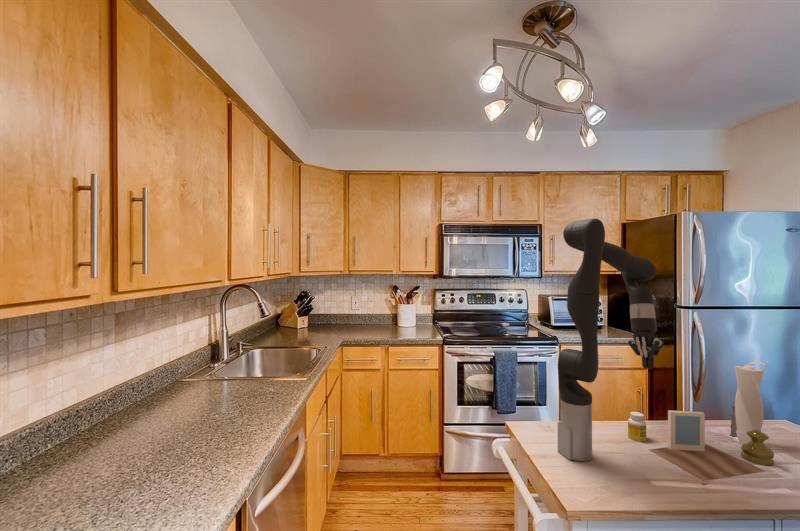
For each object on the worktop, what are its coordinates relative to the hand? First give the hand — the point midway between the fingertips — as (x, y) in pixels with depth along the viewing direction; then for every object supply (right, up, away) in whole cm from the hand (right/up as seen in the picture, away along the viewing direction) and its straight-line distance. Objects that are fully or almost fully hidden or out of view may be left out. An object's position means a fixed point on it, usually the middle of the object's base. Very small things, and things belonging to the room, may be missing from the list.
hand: (647, 368), depth 130 cm
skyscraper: (+34, -26, 0) cm, 42 cm away
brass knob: (+25, -25, -14) cm, 38 cm away
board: (+8, -25, -14) cm, 30 cm away
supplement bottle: (-3, -25, +1) cm, 26 cm away
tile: (+8, -24, -7) cm, 26 cm away
